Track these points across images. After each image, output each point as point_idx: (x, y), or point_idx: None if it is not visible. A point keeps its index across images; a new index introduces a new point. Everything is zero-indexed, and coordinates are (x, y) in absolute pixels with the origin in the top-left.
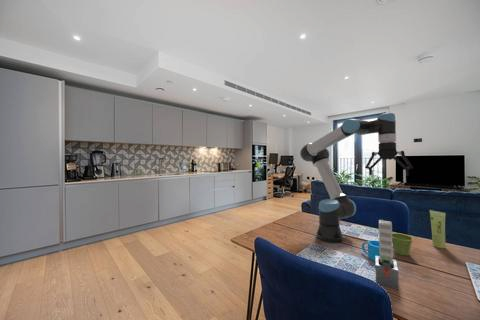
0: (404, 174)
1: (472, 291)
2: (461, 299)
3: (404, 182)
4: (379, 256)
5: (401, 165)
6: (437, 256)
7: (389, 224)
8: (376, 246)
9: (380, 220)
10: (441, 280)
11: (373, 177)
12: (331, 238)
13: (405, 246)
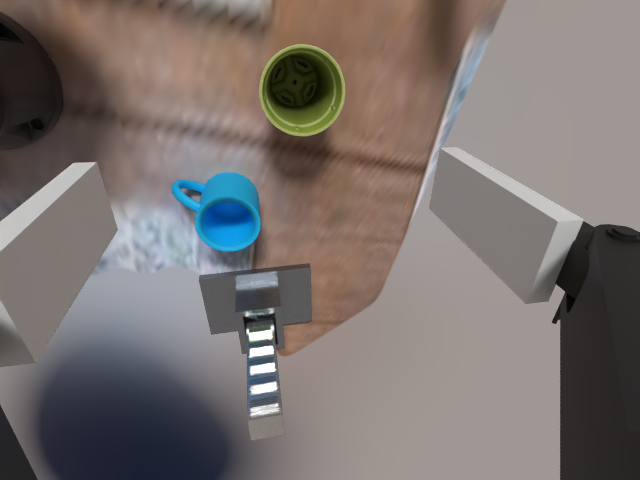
0: (488, 259)
1: (405, 227)
2: (374, 269)
3: (433, 209)
4: (244, 311)
5: (562, 367)
6: (402, 36)
7: (278, 434)
8: (228, 249)
9: (253, 422)
10: (363, 216)
11: (85, 218)
12: (24, 145)
13: (310, 117)
